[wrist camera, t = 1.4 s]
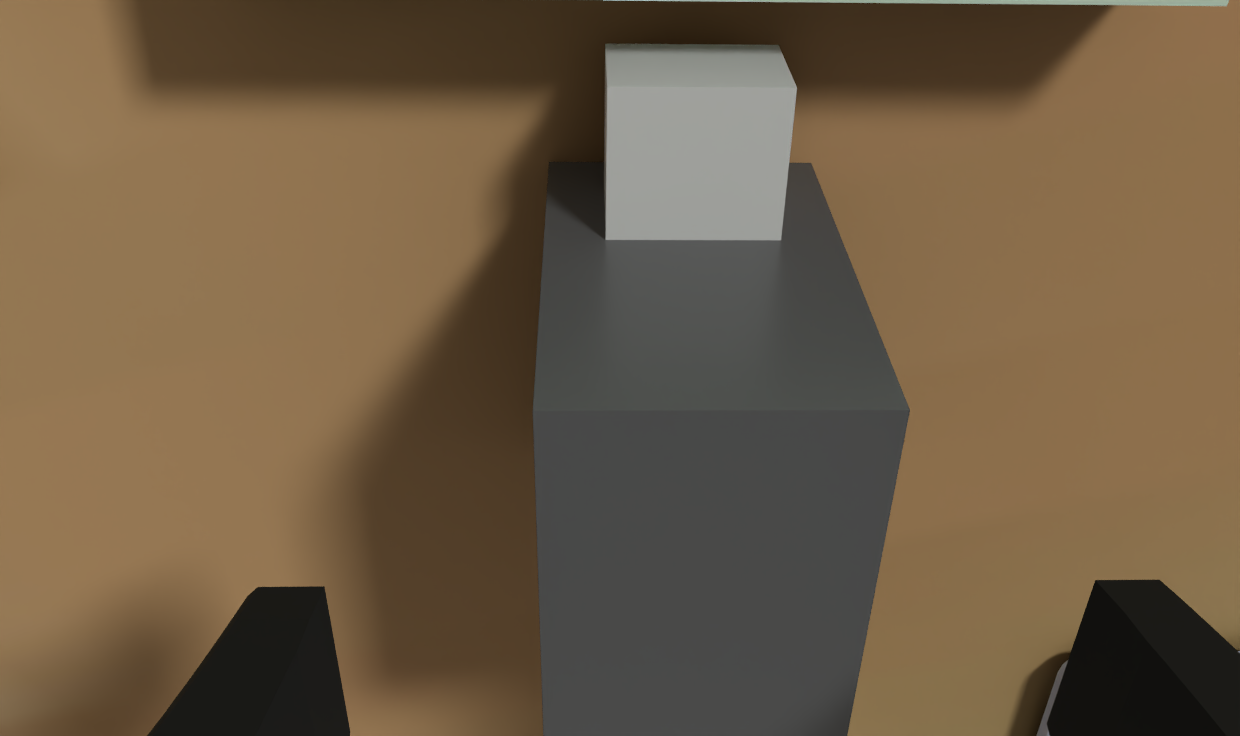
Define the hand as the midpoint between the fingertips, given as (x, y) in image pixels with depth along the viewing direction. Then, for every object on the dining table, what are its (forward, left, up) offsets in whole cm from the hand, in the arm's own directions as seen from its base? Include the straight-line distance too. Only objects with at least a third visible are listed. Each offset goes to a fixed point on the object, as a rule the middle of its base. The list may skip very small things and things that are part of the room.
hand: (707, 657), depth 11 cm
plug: (0, 0, -6) cm, 6 cm away
